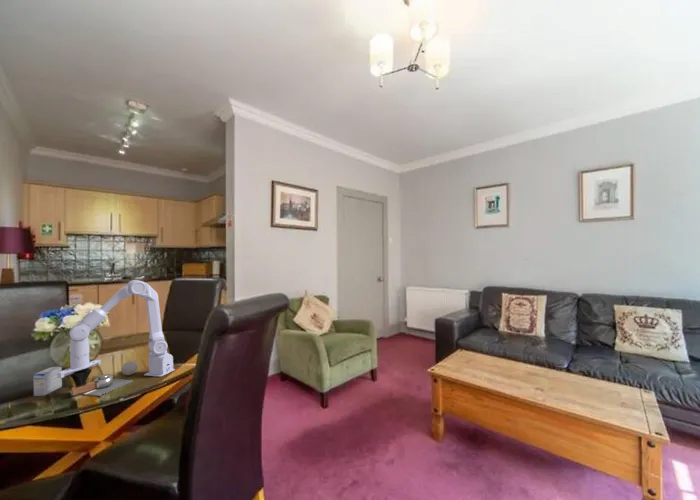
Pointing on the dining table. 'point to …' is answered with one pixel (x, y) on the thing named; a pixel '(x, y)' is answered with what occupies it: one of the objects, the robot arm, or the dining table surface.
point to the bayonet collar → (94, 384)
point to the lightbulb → (129, 368)
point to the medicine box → (47, 381)
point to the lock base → (107, 388)
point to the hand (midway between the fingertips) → (80, 389)
